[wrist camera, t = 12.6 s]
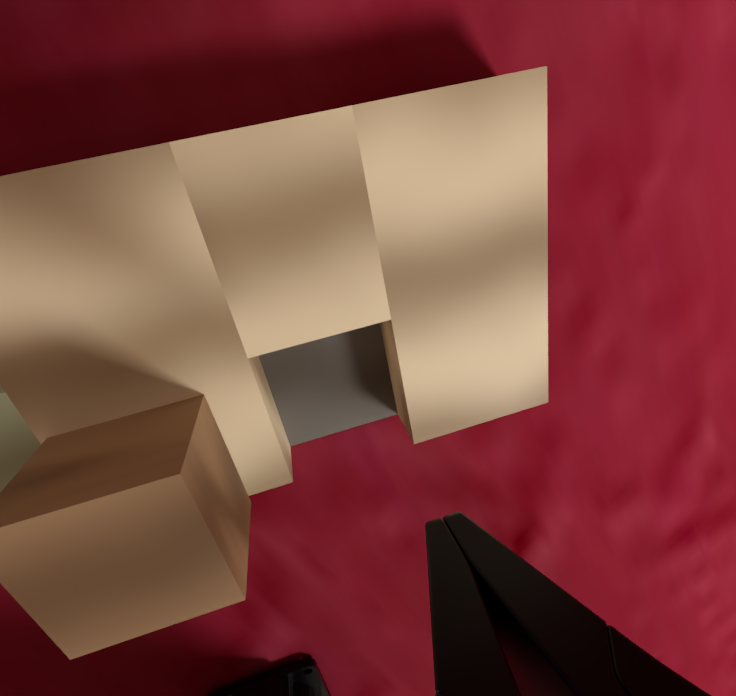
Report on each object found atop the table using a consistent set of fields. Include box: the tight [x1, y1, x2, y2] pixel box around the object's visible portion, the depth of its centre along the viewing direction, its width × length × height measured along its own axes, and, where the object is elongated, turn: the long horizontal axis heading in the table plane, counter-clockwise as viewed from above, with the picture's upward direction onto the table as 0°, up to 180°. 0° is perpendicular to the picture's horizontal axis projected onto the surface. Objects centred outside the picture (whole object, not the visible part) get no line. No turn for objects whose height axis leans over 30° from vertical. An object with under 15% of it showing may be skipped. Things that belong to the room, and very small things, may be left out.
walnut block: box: [0, 395, 251, 660], centre depth 12 cm, size 5×5×4 cm
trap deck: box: [0, 66, 548, 496], centre depth 13 cm, size 12×25×6 cm, turn 101°
